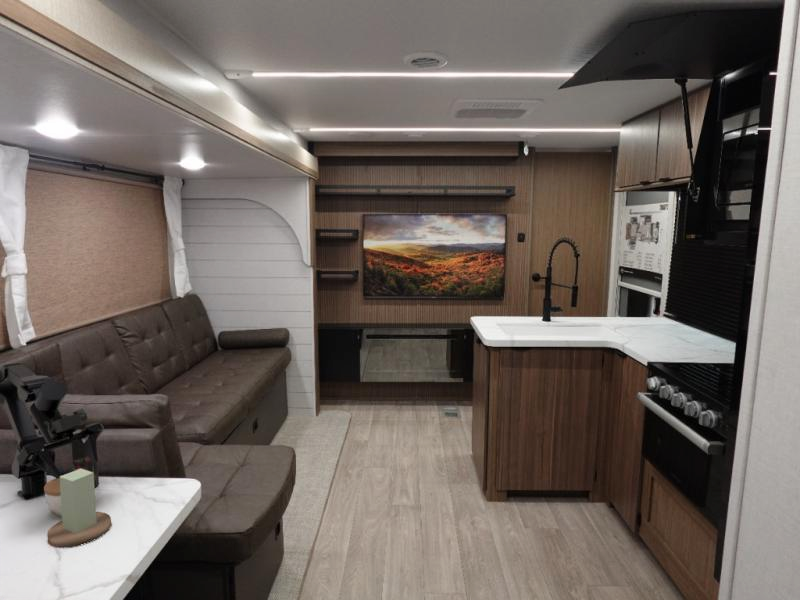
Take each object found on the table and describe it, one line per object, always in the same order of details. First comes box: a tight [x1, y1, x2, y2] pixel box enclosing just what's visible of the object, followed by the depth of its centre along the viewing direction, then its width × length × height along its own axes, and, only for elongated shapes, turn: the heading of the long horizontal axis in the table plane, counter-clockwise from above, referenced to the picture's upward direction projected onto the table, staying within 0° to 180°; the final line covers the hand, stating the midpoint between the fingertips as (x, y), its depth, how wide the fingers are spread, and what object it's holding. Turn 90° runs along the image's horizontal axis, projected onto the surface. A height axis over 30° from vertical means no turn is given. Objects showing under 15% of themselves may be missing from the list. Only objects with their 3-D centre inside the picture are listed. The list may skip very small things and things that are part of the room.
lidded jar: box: [44, 477, 62, 517], centre depth 131 cm, size 11×11×9 cm
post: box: [59, 469, 97, 534], centre depth 121 cm, size 5×5×13 cm
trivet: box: [46, 511, 112, 549], centre depth 121 cm, size 13×13×2 cm
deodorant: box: [70, 441, 100, 489], centre depth 143 cm, size 6×6×15 cm
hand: (78, 470), depth 126 cm, fingers open, 9 cm apart
